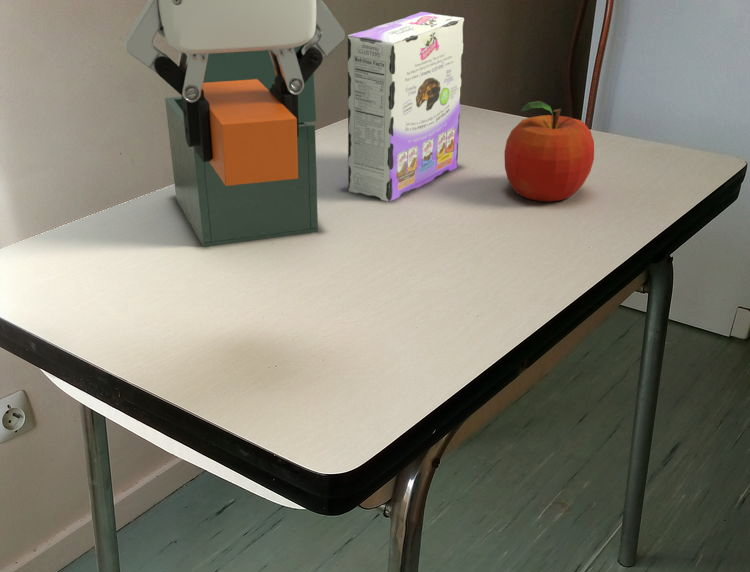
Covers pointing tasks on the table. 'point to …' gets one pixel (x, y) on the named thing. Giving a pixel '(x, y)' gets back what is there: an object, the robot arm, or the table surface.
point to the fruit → (548, 155)
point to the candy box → (403, 104)
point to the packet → (250, 133)
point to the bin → (242, 192)
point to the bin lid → (257, 75)
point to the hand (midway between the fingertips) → (243, 149)
